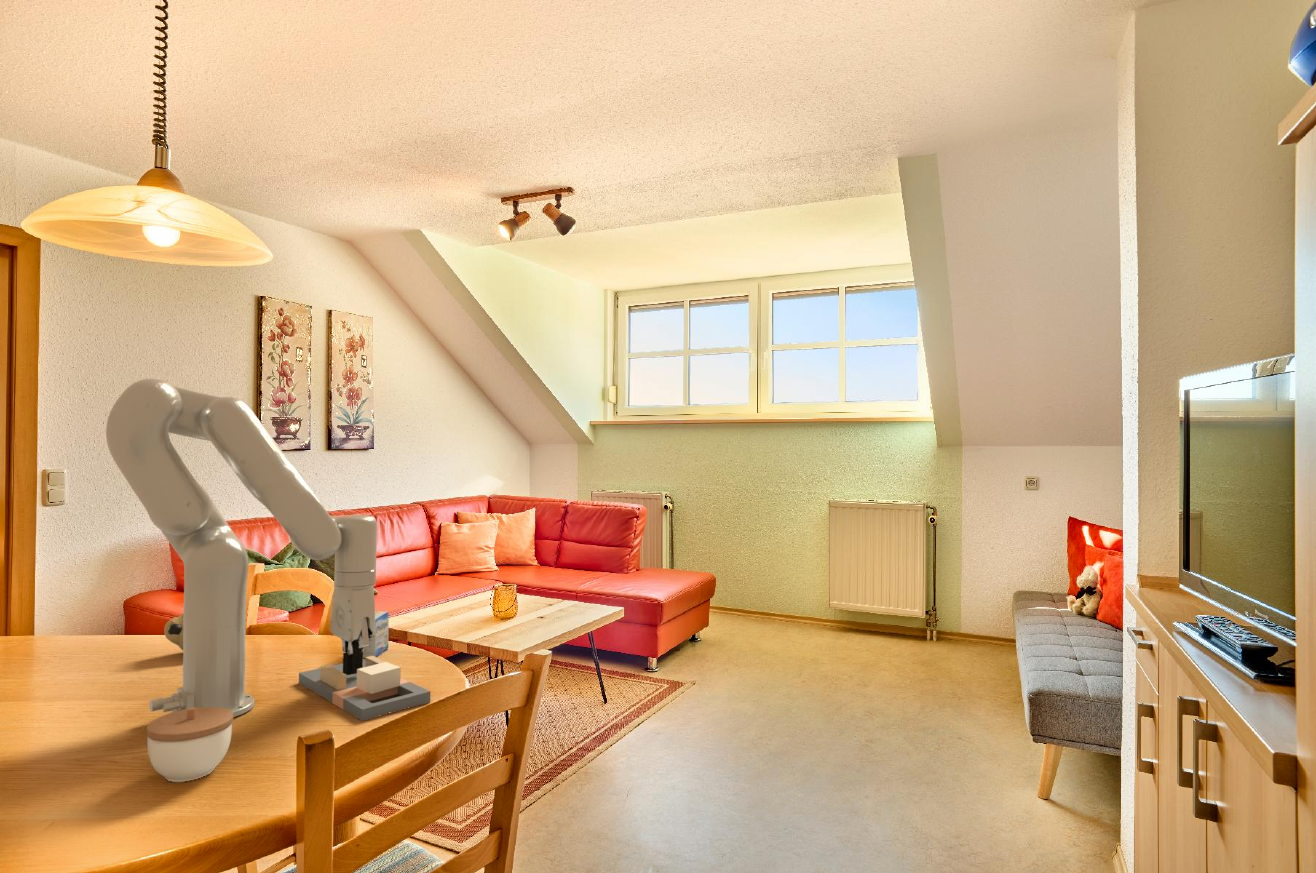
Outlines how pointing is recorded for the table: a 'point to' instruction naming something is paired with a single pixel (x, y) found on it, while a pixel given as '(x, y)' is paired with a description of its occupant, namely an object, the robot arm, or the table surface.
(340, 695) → the deck
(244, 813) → the table surface
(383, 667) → the block
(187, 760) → the lidded jar
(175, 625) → the toy pig
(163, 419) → the robot arm
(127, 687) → the table surface
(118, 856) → the table surface
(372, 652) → the medicine box
